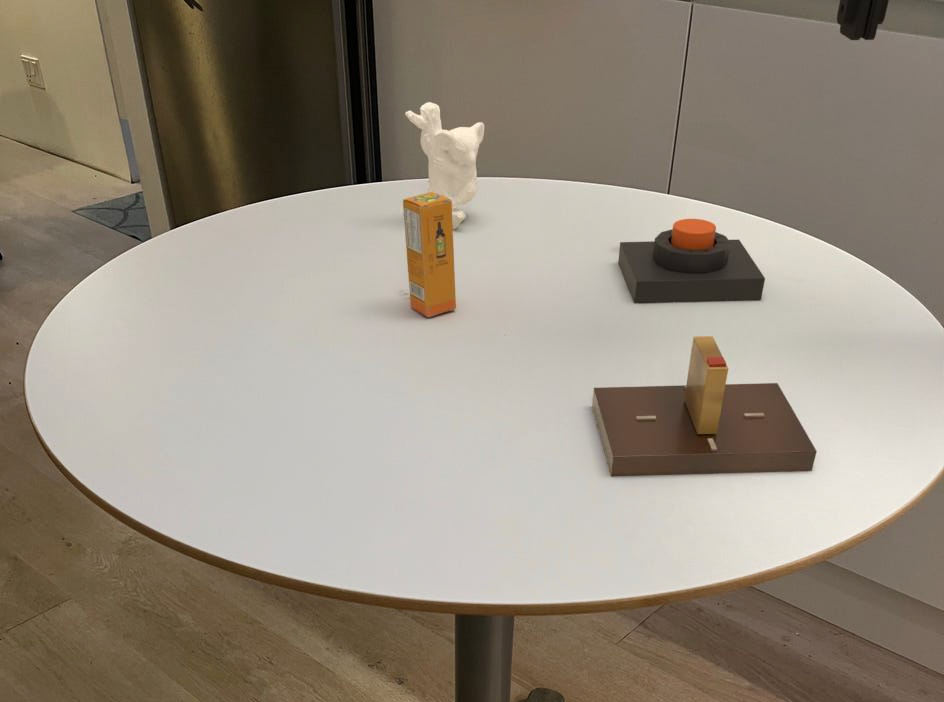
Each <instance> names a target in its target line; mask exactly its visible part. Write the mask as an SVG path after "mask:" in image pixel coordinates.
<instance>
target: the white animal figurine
mask: <svg viewBox="0 0 944 702" xmlns="http://www.w3.org/2000/svg"><path fill="white" fill-rule="evenodd" d="M419 111H420V114H417V113H415V112H413V110H410V109H409V110H408V111H405V113H404V115H405V117H406V118H407V119H408V120H409V122H411V123H412V124H413V125H414V126H416V127H417V128H418V129H420V130H421V133H420V142H419V143H420V147H421V150H422V152H424V154H425V155H426V156H427V160H428V165H427V169H428V176H427V177H428V180H427V182H428V189H427V191H426V193H429V192H433V193H436V194H439V195H442V196H444V197H446V198H449V199H451V200H452V223H453V230H456V229H458V228H459V227H460V225H461V223H462V222H463V221H465V219H466V218H467V212H466V211H465V210H463V209H459V208H458V207H460V206H464V205H467V204H468V203H470V202H472V200H474V199H475V198H476V195H477V191H478V190H477V189H478V188H477V177H478V176H477V175H478V172H477V165H476V163H477V156H478V153H479V148H480V144H481V143H482V142H483V139H484V136H485V124H484V122H482V121H481V122H479V121H478V122H476V123H475V124H473V125H472V126H469V127H468V126H466V127H465V126H458V127H456V128H452V129H450V130H449V129H448V130H447V129H443V128H442V120H441V109H440V106H439V105H438V104H437V103H435V102H431V101H428V102H426V103H424V104H422V105H421V106H420V108H419Z"/></svg>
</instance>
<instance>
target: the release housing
mask: <svg viewBox="0 0 944 702" xmlns="http://www.w3.org/2000/svg"><path fill="white" fill-rule="evenodd" d="M672 230H673V228H672V229H667V230H664V231H661V232H660V233H659V234H657V236H655V238H654V241H652V240H651V241H620V242H619V248H618V249H619V251H618V263H617V264H618V267H619V269H620V271H621V274H622V276H623V279H624V282H625V284H626V286H627V289H628V291H629V294H630V297H631V299H632V302H633V304H636V305H637V304H671V303H672V304H673V303H674V302H675V303H678V302H679V303H710V302H711V303H715V302H716V303H717V302H757V301H762V297H763V292H764V286H765V282H766V278H765V276H764V274H763V273H762V271H761V270H760V268H759V267H758V265H757V264H756V263H755V261H754V259H753V258H752V256H751V255H750V253H749V252H748V250H747V249H746V247H745V246H744V244H743V243H742V242H741V240H740V239H729V238H728V237H727V236H726V235H724V234H722V233H719V232H717V231H716V232H715V239H714V245H713V247H711V248H708V249H699V250H690V249H684V248H678V247H676V246H674V245H672V244H671V238H672ZM675 303H674V304H675ZM679 303H678V304H679Z"/></svg>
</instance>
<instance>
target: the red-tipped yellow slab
mask: <svg viewBox="0 0 944 702" xmlns="http://www.w3.org/2000/svg"><path fill="white" fill-rule="evenodd" d="M728 373H729V367H728V365H727V362H726V360H725V357H724V356H723V355H722V352H721V349H720V348H719V346H718V344H717V342H716V340H715V338H714V336H712V335H707V336H706V335H703V336H693V339H692V344H691V352H690V359H689V365H688V371H687V376H686V377H687V378H686V391H685V398H684V401H685V404H686V406H687V409H688V411H689V414H690V416H691V419H692V421H693V424H694V427H695V429H696V432H697V434H717V430H718V424H719V419H720V413H721V407H722V402H723V396H724V390H725V385H726V384H727V379H728Z"/></svg>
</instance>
